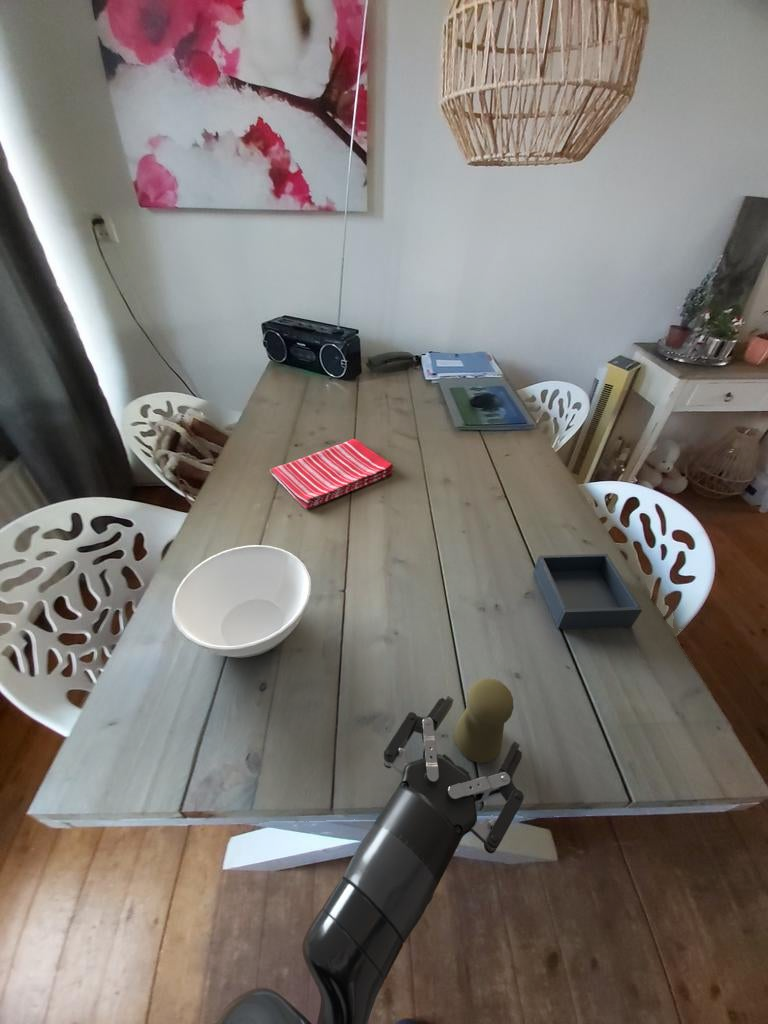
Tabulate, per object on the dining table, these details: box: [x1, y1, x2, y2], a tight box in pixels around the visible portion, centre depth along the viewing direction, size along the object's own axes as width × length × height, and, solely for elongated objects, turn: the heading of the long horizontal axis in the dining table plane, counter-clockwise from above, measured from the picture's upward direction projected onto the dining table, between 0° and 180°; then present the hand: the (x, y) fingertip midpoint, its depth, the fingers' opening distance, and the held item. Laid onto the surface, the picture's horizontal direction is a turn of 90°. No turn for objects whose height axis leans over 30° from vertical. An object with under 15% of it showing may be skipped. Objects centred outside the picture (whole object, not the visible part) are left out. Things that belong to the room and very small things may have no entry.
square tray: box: [532, 553, 643, 630], centre depth 73 cm, size 12×12×4 cm
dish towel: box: [269, 438, 394, 511], centre depth 101 cm, size 17×24×3 cm
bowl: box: [171, 544, 312, 659], centre depth 66 cm, size 19×20×8 cm
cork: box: [453, 677, 515, 764], centre depth 53 cm, size 6×6×11 cm
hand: (481, 722), depth 51 cm, fingers open, 8 cm apart
